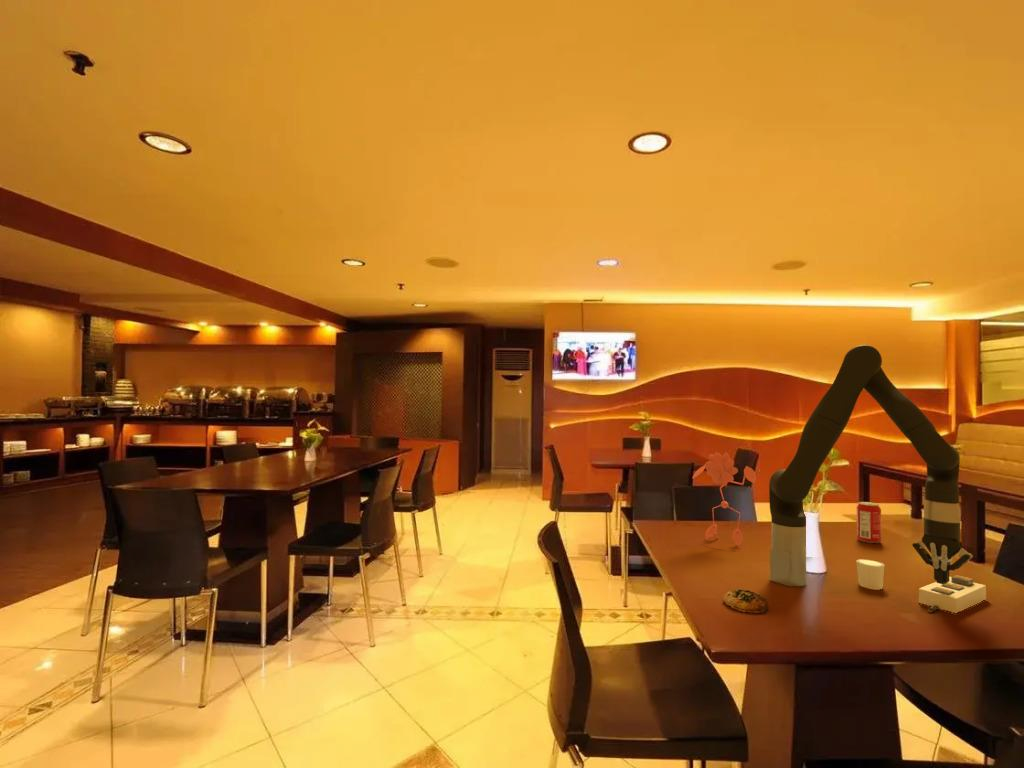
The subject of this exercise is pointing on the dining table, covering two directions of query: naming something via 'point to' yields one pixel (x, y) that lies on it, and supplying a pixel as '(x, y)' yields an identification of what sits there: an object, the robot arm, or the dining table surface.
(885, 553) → the dining table surface
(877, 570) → the white soft cylinder
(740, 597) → the bread roll
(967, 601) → the power strip
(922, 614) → the dining table surface
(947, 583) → the switch middle
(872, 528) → the soda can
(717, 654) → the dining table surface
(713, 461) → the pink stick figure
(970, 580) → the switch
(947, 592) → the switch
